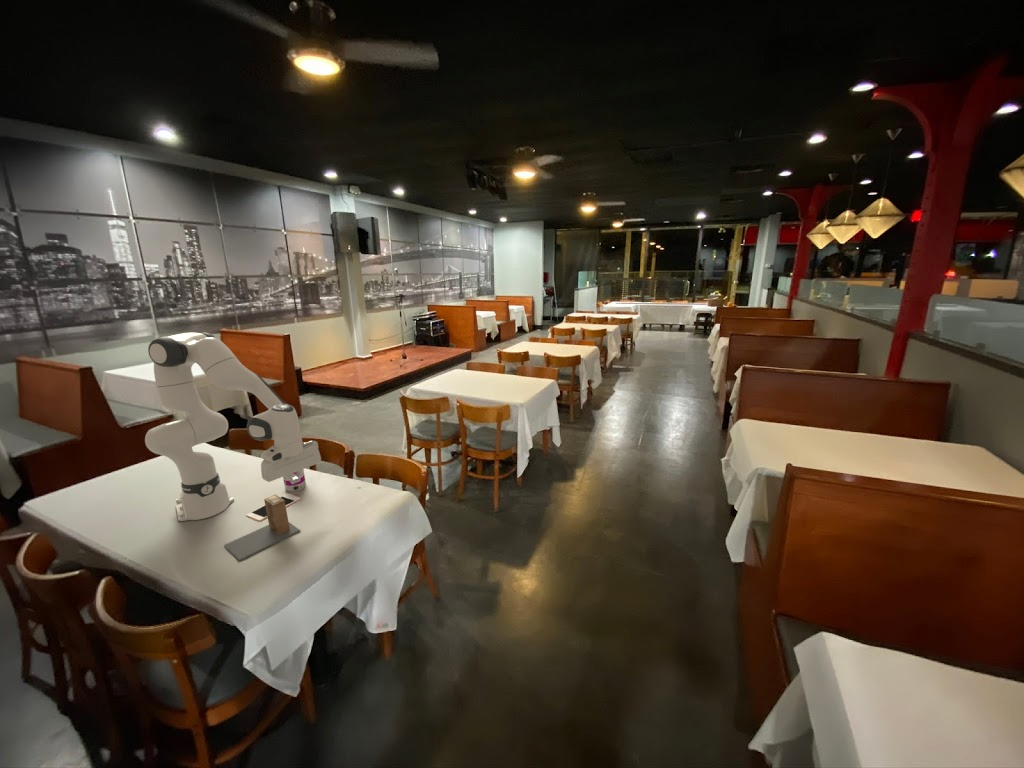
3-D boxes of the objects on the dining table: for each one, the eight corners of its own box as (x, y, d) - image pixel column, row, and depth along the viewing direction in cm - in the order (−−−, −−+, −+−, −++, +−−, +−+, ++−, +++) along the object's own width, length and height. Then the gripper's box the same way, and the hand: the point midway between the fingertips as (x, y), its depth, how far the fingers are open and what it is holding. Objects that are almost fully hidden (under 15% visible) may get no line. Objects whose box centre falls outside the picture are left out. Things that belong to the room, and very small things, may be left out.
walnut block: (269, 528, 152) (264, 498, 149) (280, 522, 155) (275, 493, 152) (278, 534, 148) (272, 504, 145) (289, 529, 151) (284, 499, 148)
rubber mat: (224, 546, 143) (224, 545, 143) (283, 519, 158) (283, 518, 158) (239, 561, 136) (239, 559, 135) (300, 531, 151) (300, 530, 151)
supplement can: (309, 485, 184) (305, 454, 180) (292, 494, 177) (286, 462, 173) (299, 481, 188) (294, 451, 184) (281, 489, 181) (275, 457, 177)
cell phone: (301, 499, 173) (301, 497, 173) (260, 522, 157) (259, 520, 157) (287, 495, 177) (287, 493, 177) (245, 517, 161) (245, 514, 161)
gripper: (312, 437, 160) (318, 469, 164) (256, 455, 144) (263, 491, 148) (321, 440, 156) (326, 473, 160) (264, 460, 141) (271, 496, 144)
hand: (295, 482), depth 154 cm, fingers closed
